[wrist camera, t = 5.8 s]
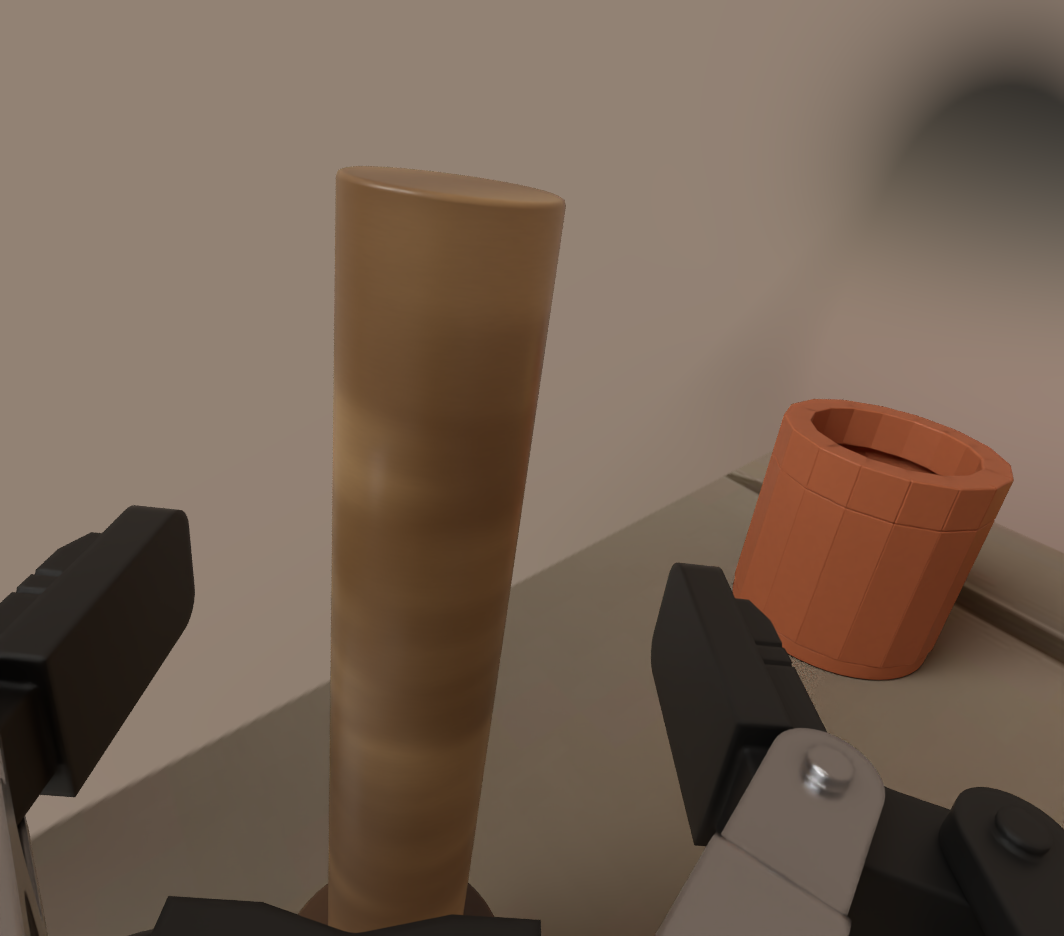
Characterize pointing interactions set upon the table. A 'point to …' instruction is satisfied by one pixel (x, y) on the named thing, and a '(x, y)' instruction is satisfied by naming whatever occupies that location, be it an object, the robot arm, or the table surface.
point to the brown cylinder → (425, 520)
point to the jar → (867, 534)
